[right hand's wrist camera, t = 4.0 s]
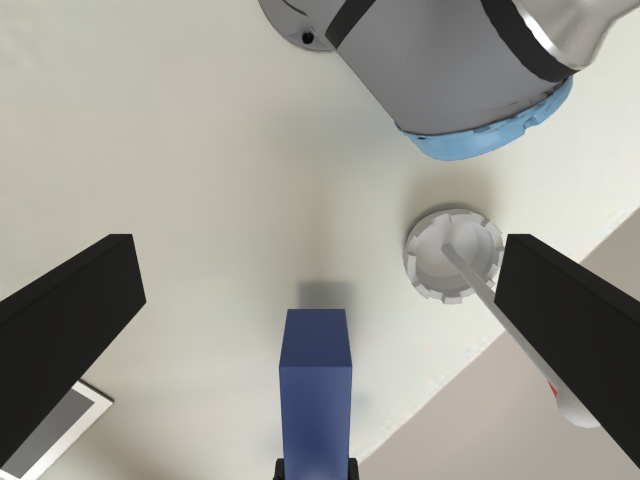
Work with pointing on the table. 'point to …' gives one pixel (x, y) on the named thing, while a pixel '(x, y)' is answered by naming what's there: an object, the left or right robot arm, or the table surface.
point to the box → (315, 394)
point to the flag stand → (474, 281)
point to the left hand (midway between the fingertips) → (316, 440)
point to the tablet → (56, 432)
